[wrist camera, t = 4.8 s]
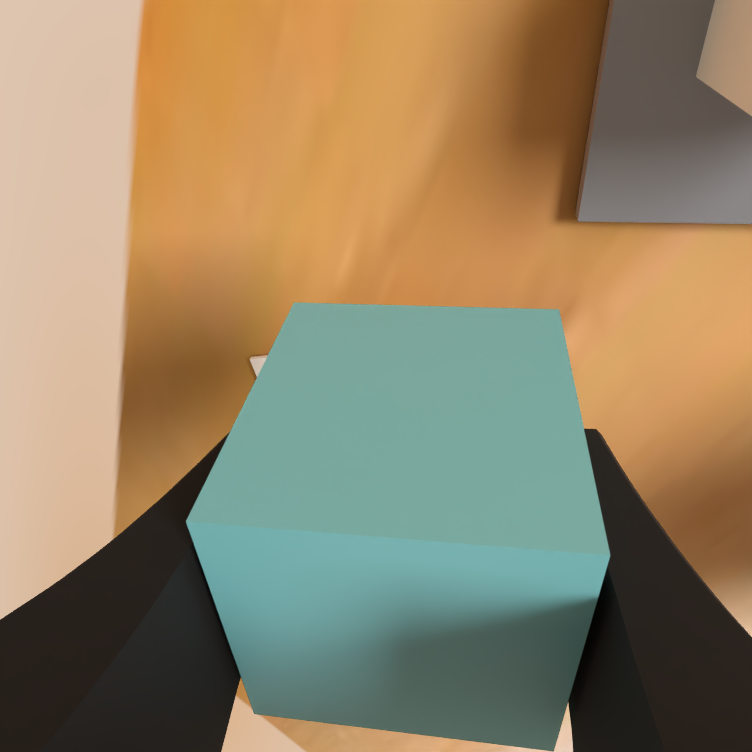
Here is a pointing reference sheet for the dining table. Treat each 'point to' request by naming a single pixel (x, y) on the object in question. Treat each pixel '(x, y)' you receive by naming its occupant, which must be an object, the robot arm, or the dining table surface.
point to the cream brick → (729, 52)
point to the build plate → (662, 125)
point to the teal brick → (408, 523)
